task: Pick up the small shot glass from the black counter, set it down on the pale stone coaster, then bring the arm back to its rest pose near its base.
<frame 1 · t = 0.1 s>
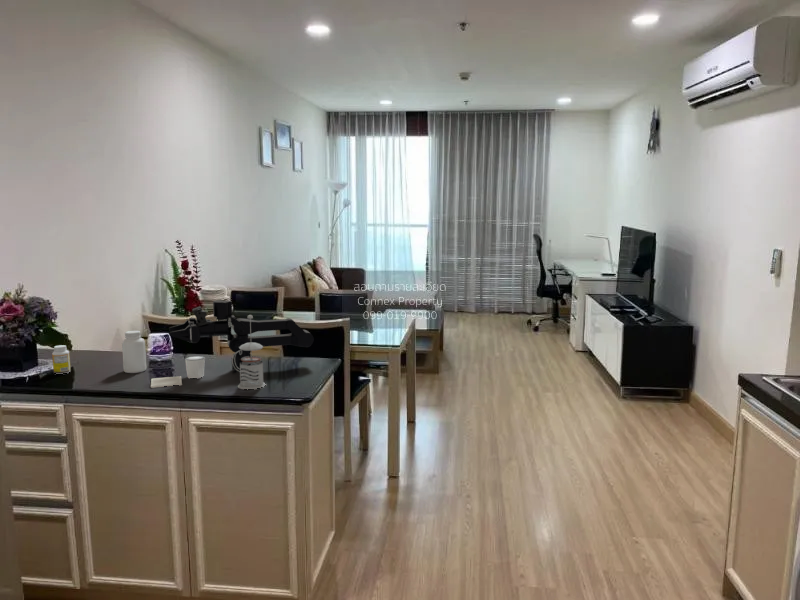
hand: (169, 331, 219), 17 cm above the countertop, tool horizontal, fingers open, 9 cm apart
shot glass: (195, 377, 221), on the countertop
coaster: (166, 382, 213), on the countertop
french press: (249, 386, 211), on the countertop
pill bottle: (135, 371, 228), on the countertop
supplement bottle: (62, 373, 224), on the countertop
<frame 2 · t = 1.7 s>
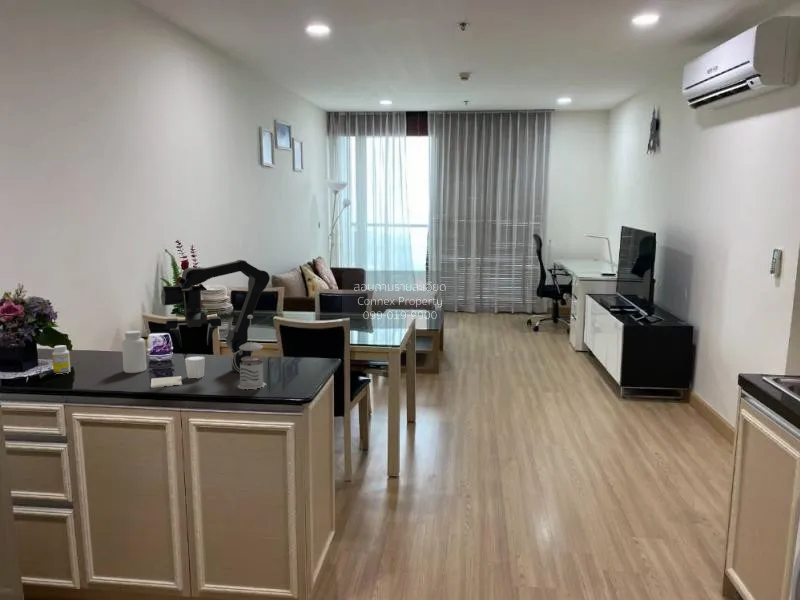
hand: (194, 345, 220), 11 cm above the countertop, tool pointing down, fingers open, 9 cm apart
nothing on the countertop moved.
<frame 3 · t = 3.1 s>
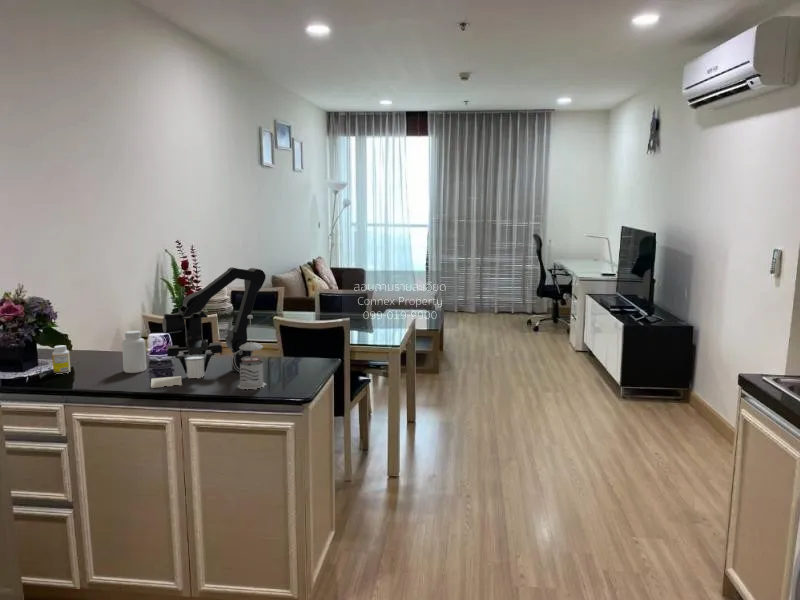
hand: (195, 372, 221), 2 cm above the countertop, tool pointing down, fingers closed on shot glass, 6 cm apart
shot glass: (195, 377, 221), on the countertop, touching gripper
everything else where it was.
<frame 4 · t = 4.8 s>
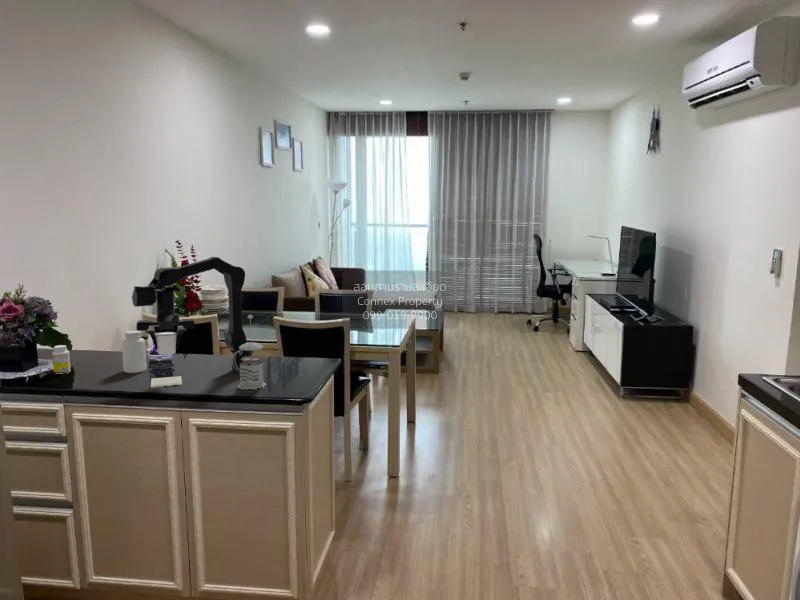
hand: (166, 348, 212), 12 cm above the countertop, tool pointing down, fingers closed on shot glass, 6 cm apart
shot glass: (166, 353, 212), point 10 cm above the countertop, touching gripper
everything else where it was.
when the fingers open (3 cm above the countertop, at t = 6.6 s): shot glass stays where it is, resting on coaster.
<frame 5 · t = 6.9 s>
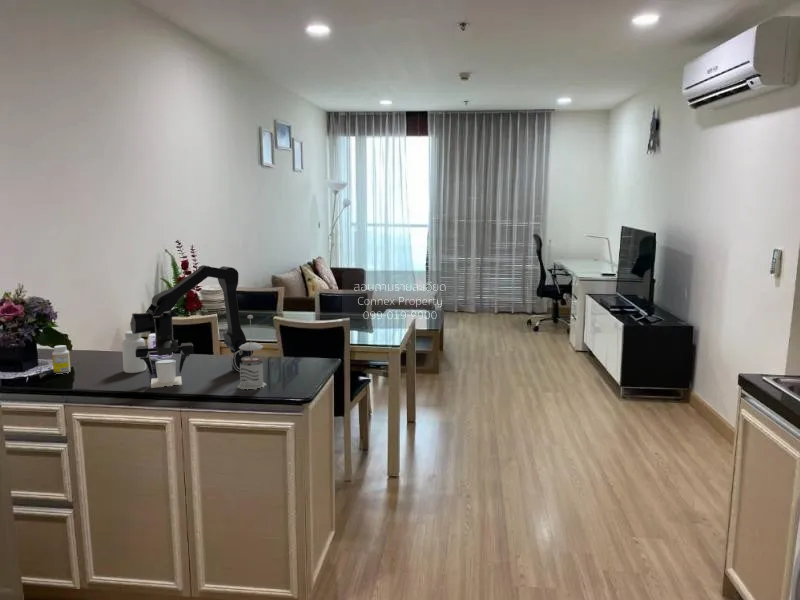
hand: (166, 373, 213), 3 cm above the countertop, tool pointing down, fingers open, 9 cm apart
shot glass: (166, 381, 213), point 1 cm above the countertop, touching coaster
everything else where it was.
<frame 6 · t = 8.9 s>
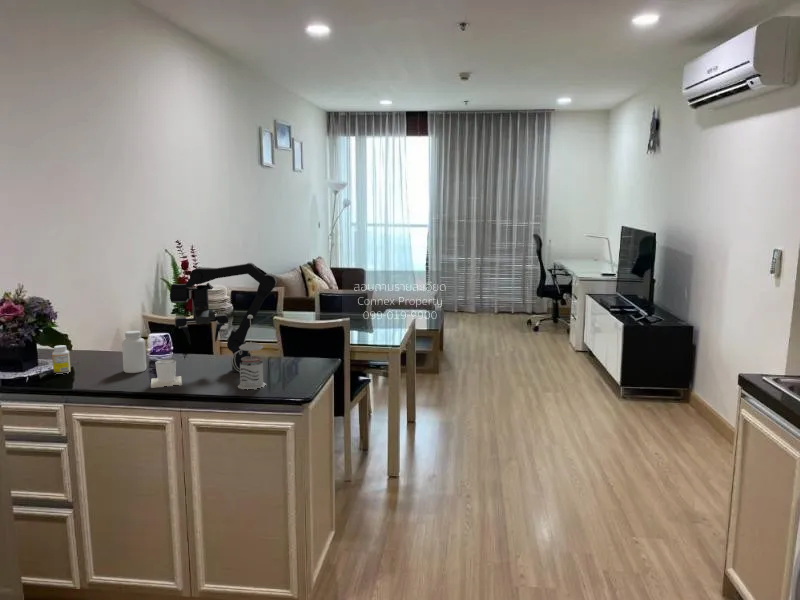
hand: (202, 342, 227), 11 cm above the countertop, tool pointing down, fingers open, 9 cm apart
nothing on the countertop moved.
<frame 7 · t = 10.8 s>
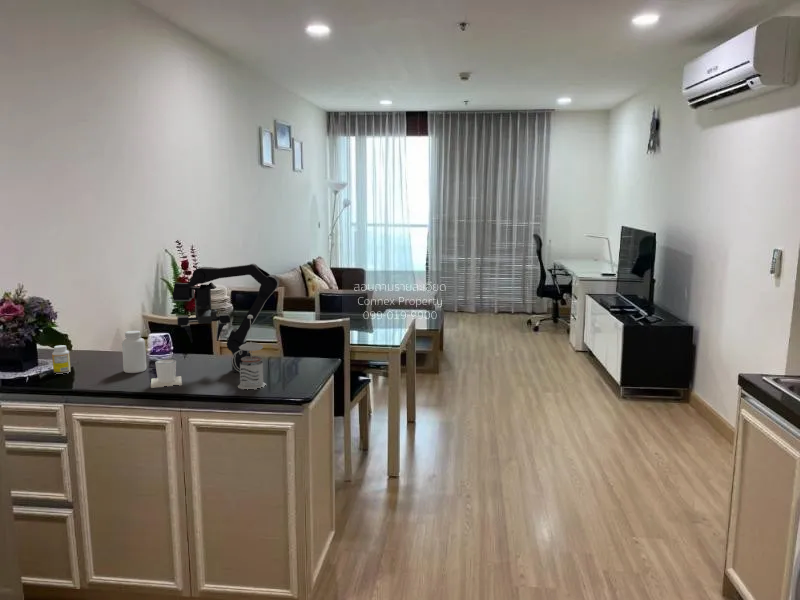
hand: (204, 341, 228), 11 cm above the countertop, tool pointing down, fingers open, 9 cm apart
nothing on the countertop moved.
at the end: shot glass inside the target area on the coaster (0.1 cm from its centre), point 0.5 cm above the coaster's base; shot glass tilted 0°; the gripper is holding nothing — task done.
